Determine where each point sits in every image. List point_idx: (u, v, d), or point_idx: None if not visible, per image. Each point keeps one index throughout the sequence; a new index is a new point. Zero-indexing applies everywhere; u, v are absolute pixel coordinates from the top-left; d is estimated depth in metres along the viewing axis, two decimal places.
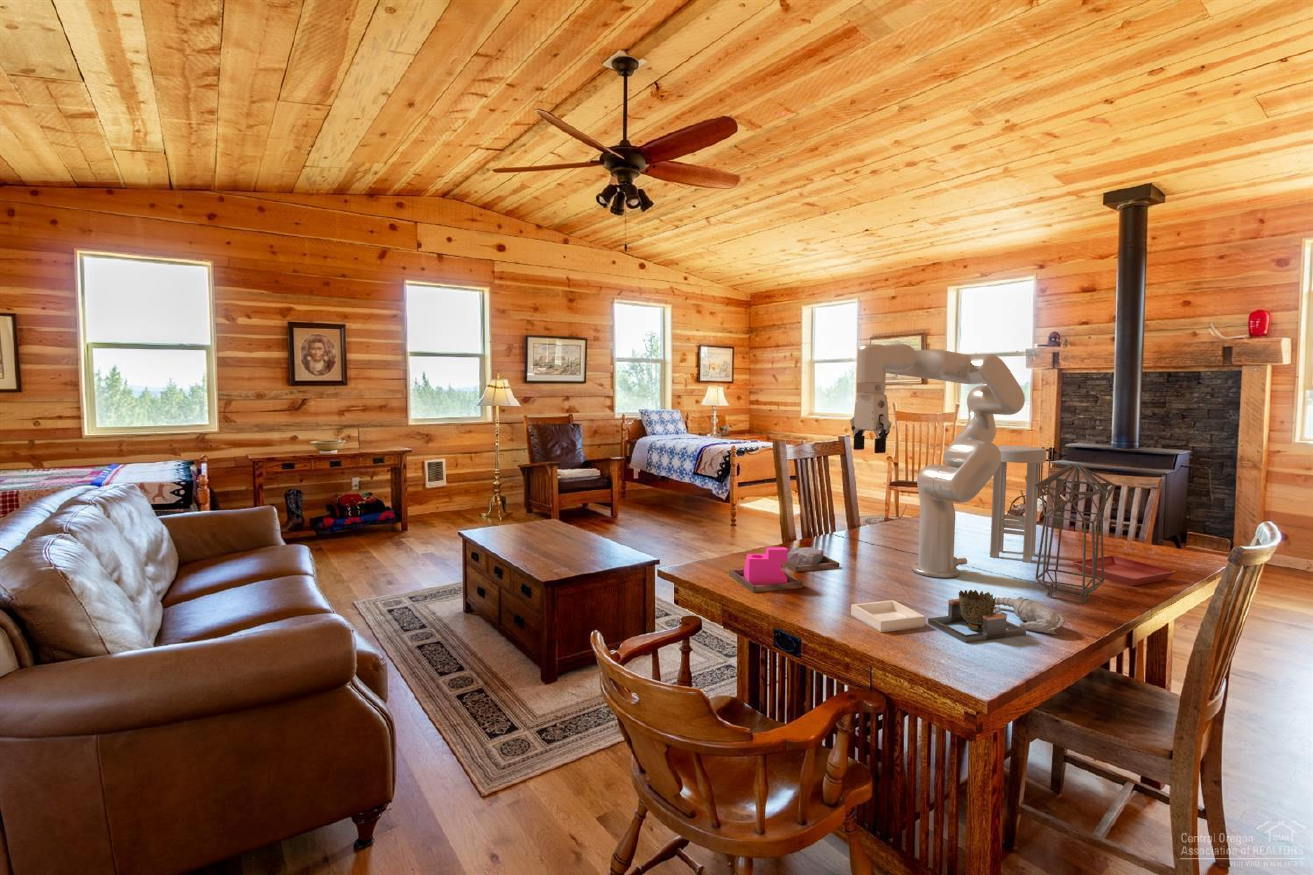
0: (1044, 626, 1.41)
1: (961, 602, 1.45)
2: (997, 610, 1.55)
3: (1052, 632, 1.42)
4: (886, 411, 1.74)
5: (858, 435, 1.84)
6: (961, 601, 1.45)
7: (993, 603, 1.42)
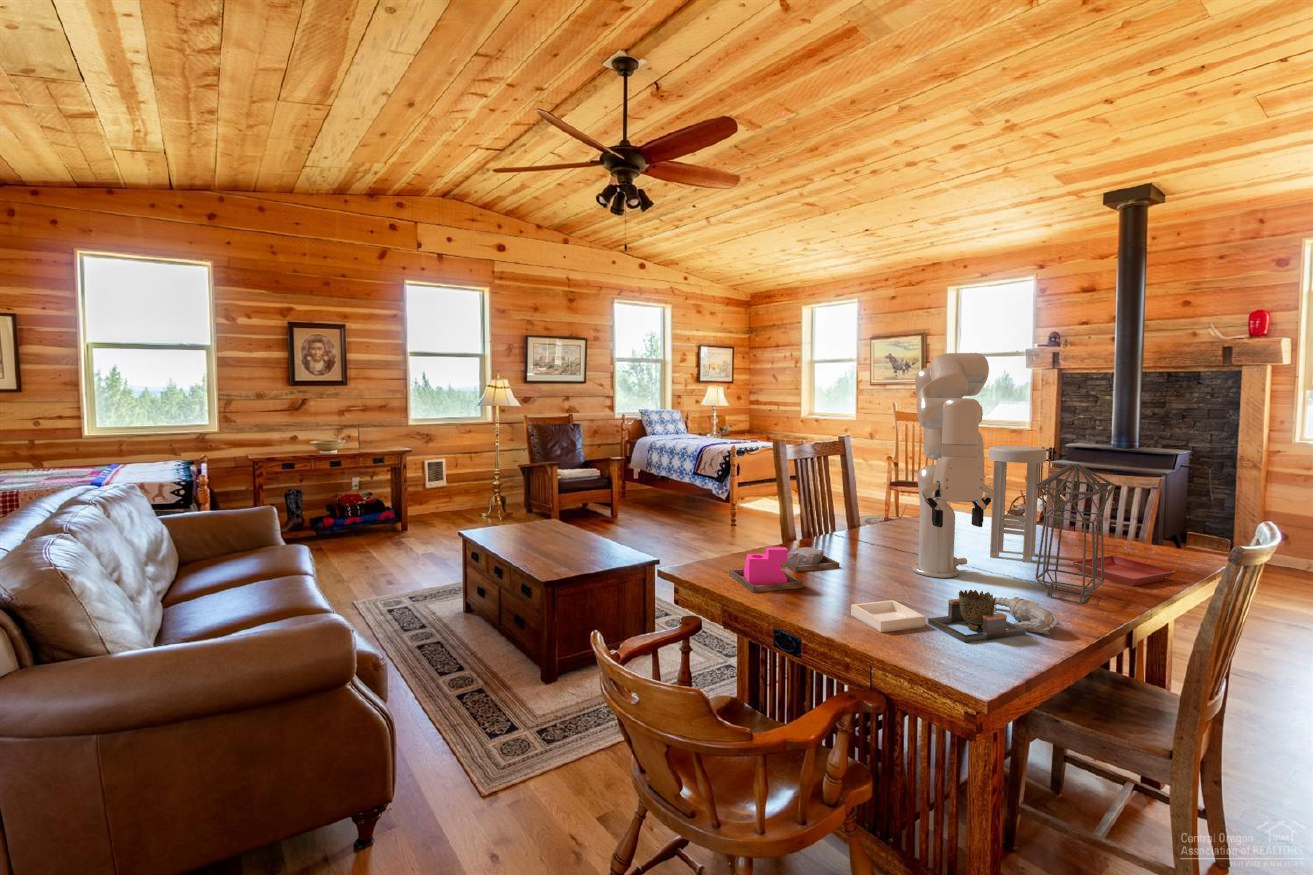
0: (1037, 626, 1.41)
1: (961, 602, 1.45)
2: None
3: (1046, 632, 1.41)
4: None
5: None
6: (961, 601, 1.45)
7: (993, 603, 1.42)
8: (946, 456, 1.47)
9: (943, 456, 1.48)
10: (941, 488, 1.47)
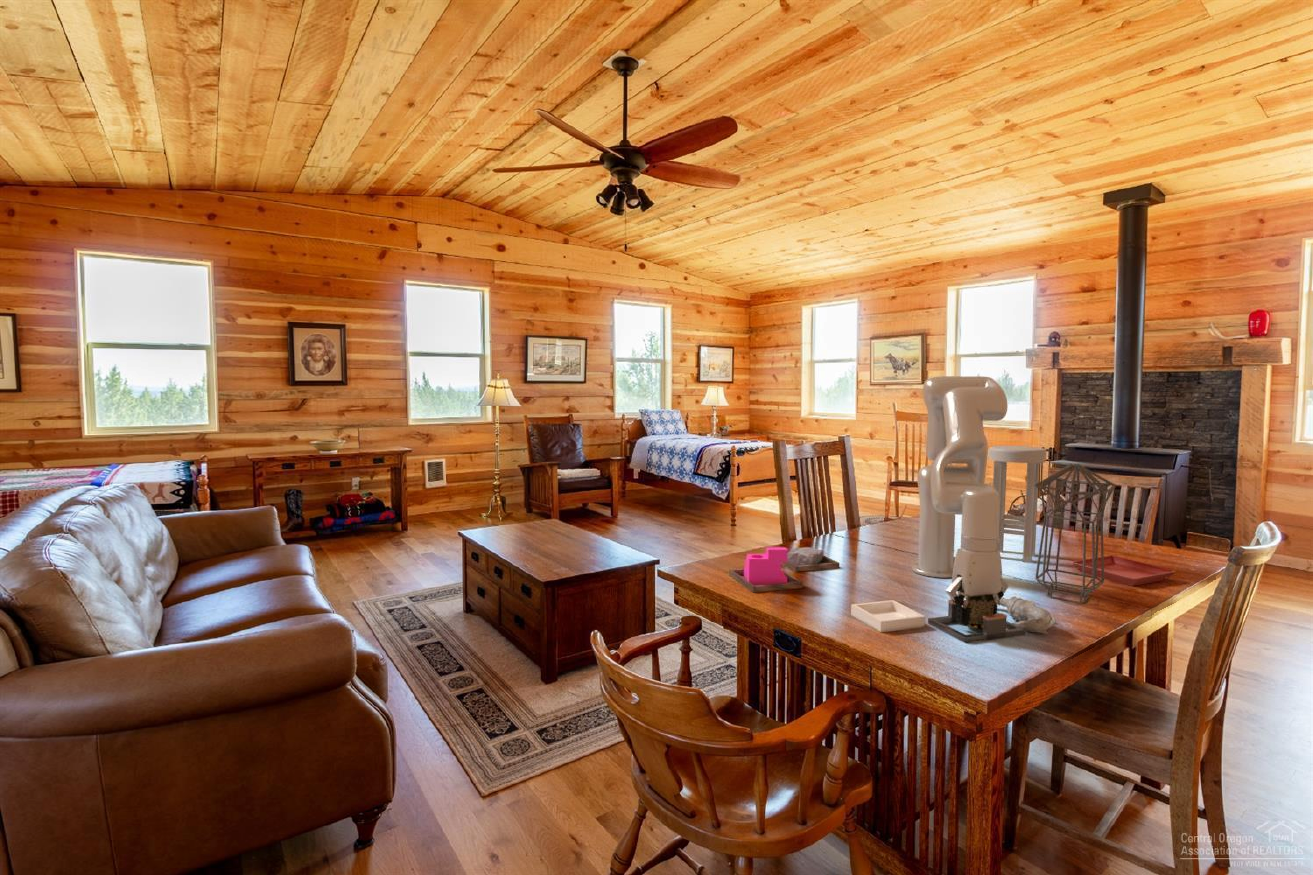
0: (1035, 626, 1.42)
1: None
2: None
3: (1044, 632, 1.42)
4: None
5: None
6: None
7: (993, 603, 1.42)
8: (968, 550, 1.42)
9: (964, 549, 1.43)
10: (964, 583, 1.42)
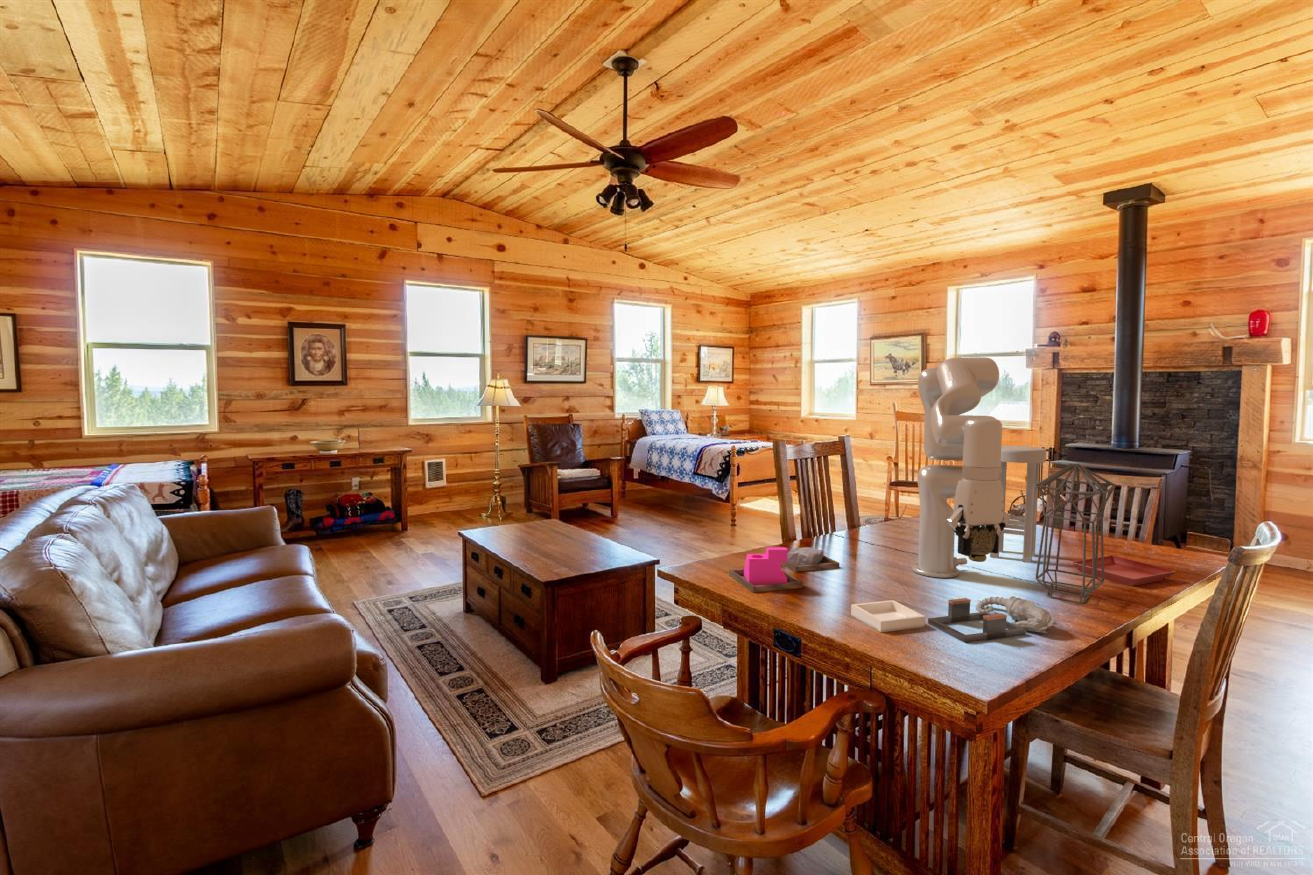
0: (1035, 626, 1.42)
1: None
2: (989, 609, 1.55)
3: (1043, 631, 1.42)
4: None
5: None
6: None
7: (995, 533, 1.41)
8: (969, 479, 1.41)
9: (965, 479, 1.42)
10: (965, 513, 1.41)
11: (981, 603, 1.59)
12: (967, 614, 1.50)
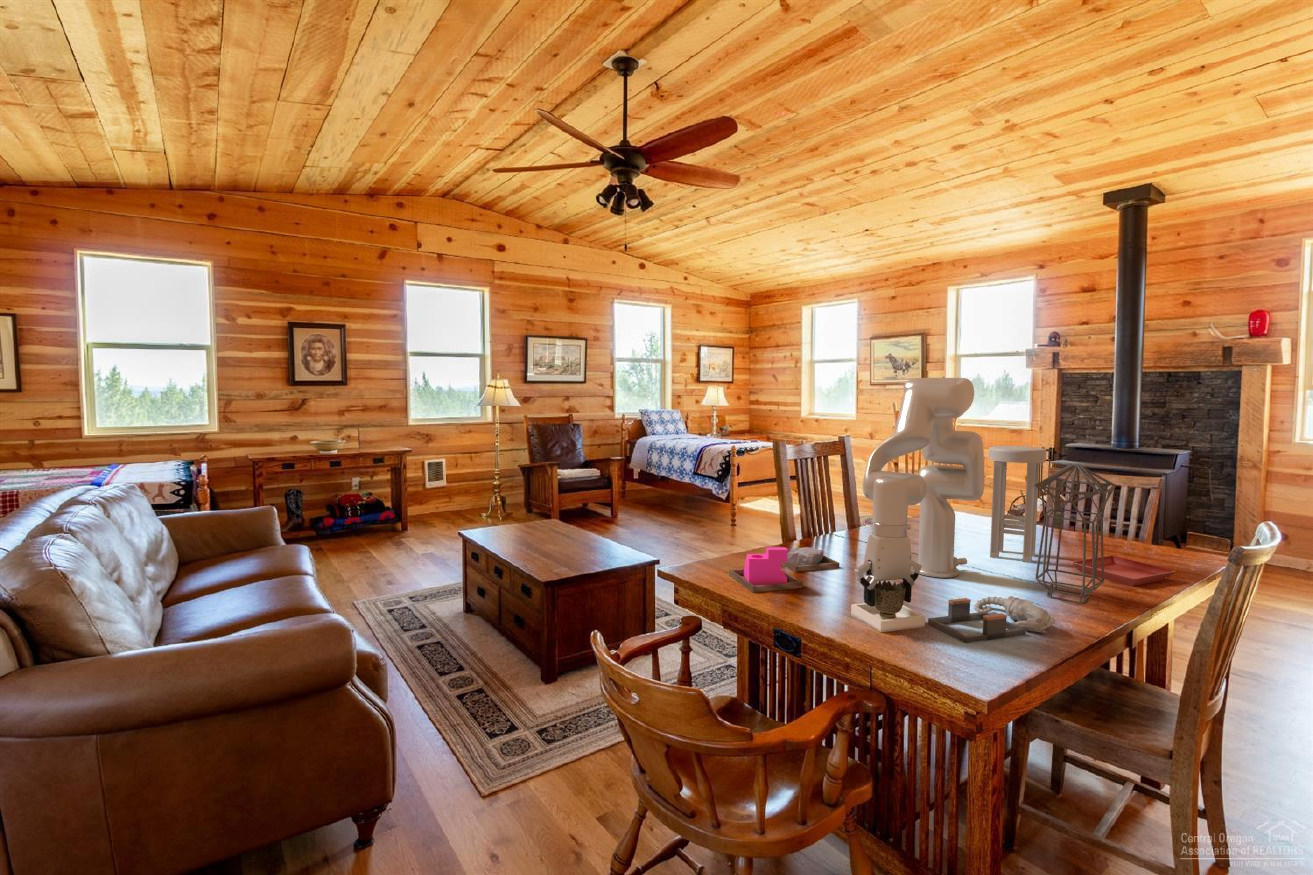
0: (1034, 626, 1.42)
1: None
2: (988, 609, 1.55)
3: (1043, 631, 1.42)
4: None
5: None
6: None
7: (903, 593, 1.47)
8: (877, 535, 1.47)
9: (874, 535, 1.48)
10: (873, 568, 1.47)
11: (979, 603, 1.59)
12: (967, 614, 1.50)
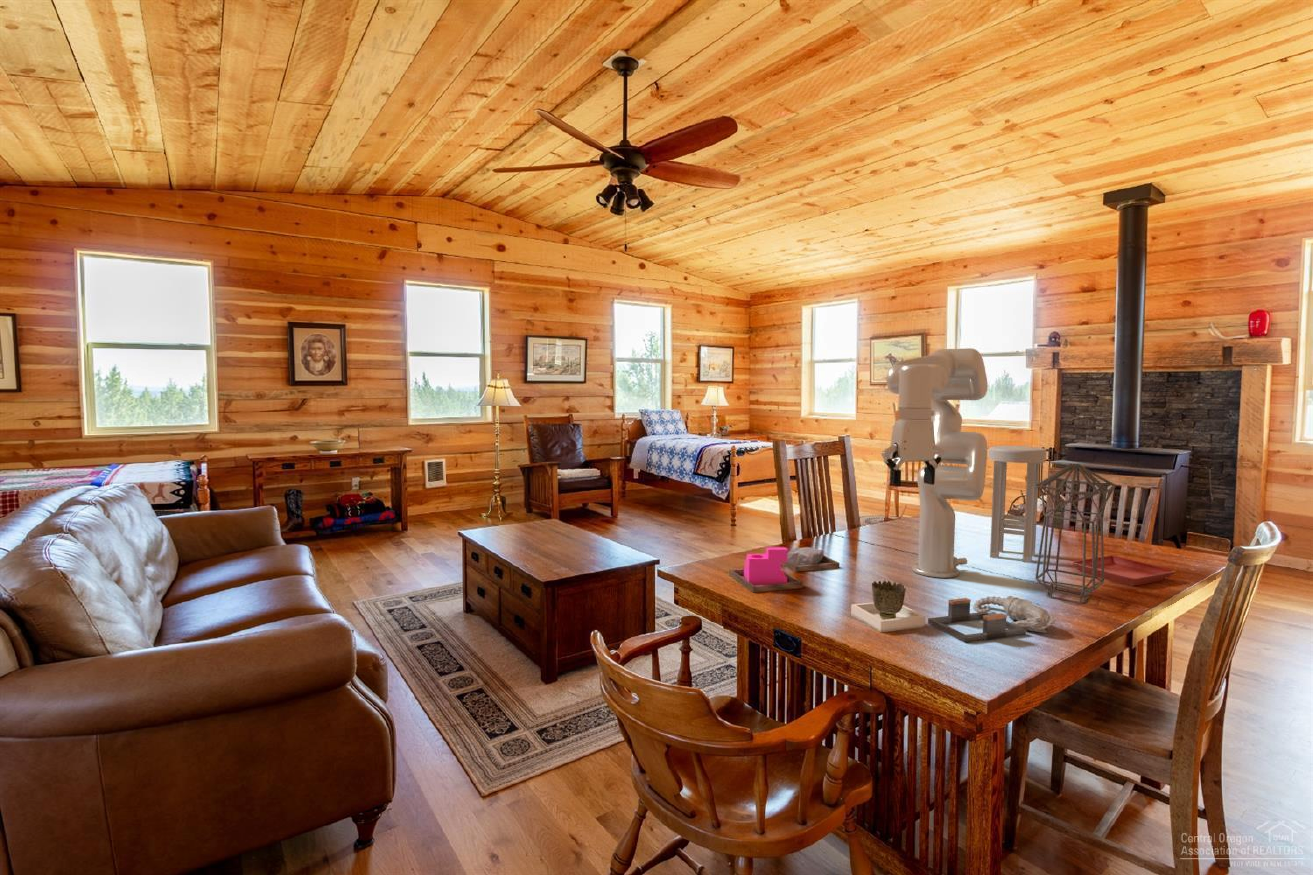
0: (1034, 625, 1.42)
1: (873, 592, 1.50)
2: (987, 609, 1.55)
3: (1042, 631, 1.42)
4: None
5: None
6: (873, 591, 1.50)
7: (902, 593, 1.47)
8: (903, 419, 1.56)
9: (900, 419, 1.57)
10: (899, 449, 1.56)
11: (978, 603, 1.59)
12: (967, 614, 1.50)
